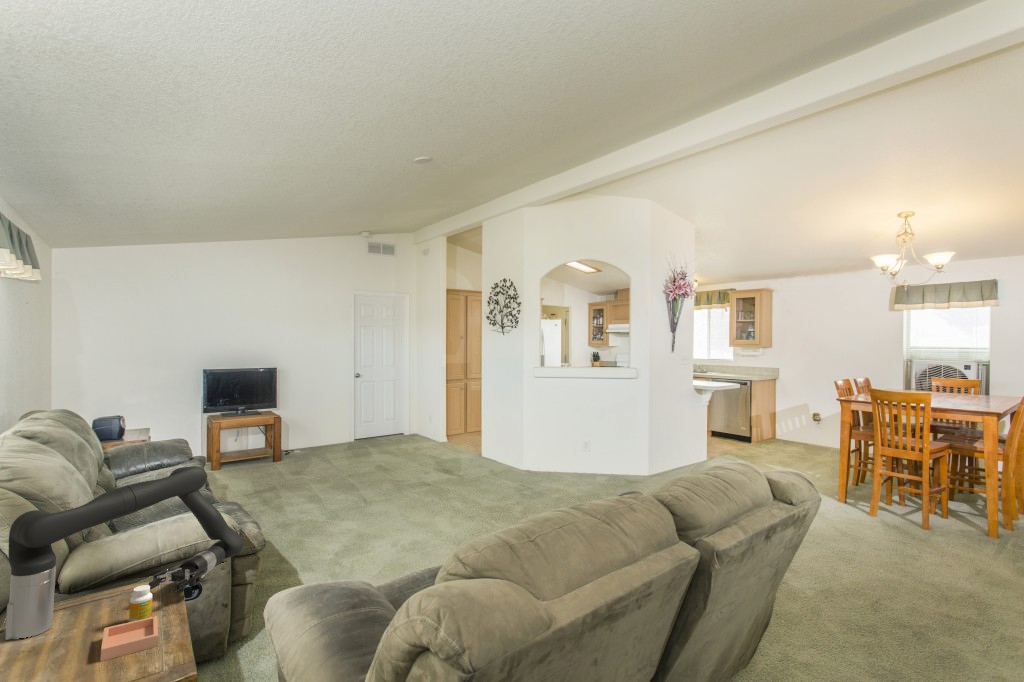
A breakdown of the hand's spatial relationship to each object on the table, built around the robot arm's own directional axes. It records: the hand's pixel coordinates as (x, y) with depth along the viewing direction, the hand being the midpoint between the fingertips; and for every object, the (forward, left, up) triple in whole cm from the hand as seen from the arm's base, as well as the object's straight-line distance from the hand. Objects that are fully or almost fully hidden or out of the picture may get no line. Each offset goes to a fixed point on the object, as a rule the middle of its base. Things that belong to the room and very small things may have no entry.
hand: (162, 587), depth 155 cm
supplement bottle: (-5, -6, -6) cm, 10 cm away
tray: (-7, -18, -6) cm, 21 cm away
